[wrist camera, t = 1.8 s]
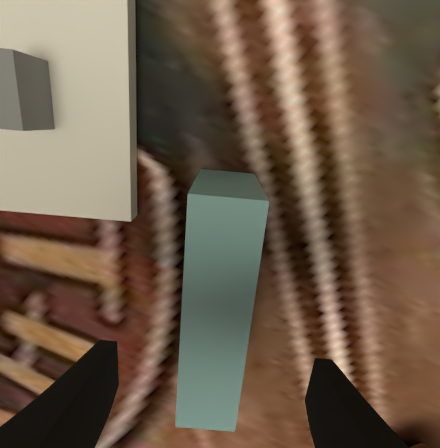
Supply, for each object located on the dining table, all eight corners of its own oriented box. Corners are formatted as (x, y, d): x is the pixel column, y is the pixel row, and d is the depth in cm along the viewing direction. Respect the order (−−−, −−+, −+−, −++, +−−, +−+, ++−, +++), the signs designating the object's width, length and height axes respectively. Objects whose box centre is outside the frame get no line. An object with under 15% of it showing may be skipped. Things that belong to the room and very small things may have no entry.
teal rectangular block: (189, 341, 20) (175, 426, 15) (200, 168, 16) (187, 193, 11) (232, 345, 20) (234, 431, 15) (254, 173, 16) (269, 201, 11)
